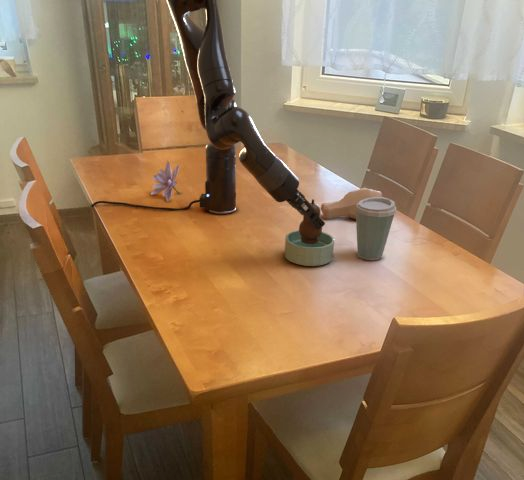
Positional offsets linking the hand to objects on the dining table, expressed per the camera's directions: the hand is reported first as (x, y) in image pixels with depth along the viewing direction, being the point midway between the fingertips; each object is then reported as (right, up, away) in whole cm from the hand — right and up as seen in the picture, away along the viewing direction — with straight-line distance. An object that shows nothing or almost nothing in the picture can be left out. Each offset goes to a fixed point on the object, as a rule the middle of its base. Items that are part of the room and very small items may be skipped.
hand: (317, 222), depth 141 cm
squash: (+14, +9, +33) cm, 37 cm away
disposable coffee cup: (+15, -8, +8) cm, 18 cm away
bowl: (-2, -8, +5) cm, 10 cm away
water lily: (-48, +19, +45) cm, 68 cm away
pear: (-2, -4, +2) cm, 5 cm away
